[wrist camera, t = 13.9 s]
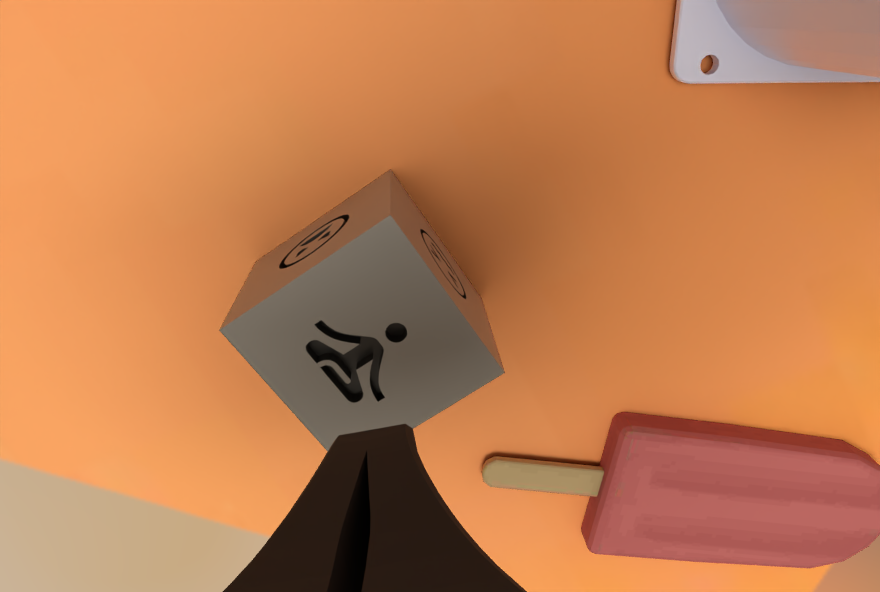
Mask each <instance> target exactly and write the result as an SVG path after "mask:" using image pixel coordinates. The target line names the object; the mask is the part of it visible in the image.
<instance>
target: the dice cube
mask: <svg viewBox="0 0 880 592" xmlns="http://www.w3.org/2000/svg"><path fill="white" fill-rule="evenodd" d="M220 332H221V333H222V334H223V335H224V336H225V337H226V338H227V339H228V340H229V342H230V343H231V344H232V345H233V346H234V347H235V348H236V349H237V351H238V352H239V353H240V354H241V355H242V356H243V357H244V358H245V359H246V361H247V362H248V363H249V364H250V365H251V366H252V367H253V368H254V370H255V371H256V372H257V373H258V374H259V375H260V376H261V377H262V379H263V380H264V381H265V382H266V383H267V384H268V385H269V386H270V387H271V389H272V390H273V391H274V392H275V393H276V394H277V395H278V396H279V398H280V399H281V400H282V401H283V402H284V403H285V404H286V405H287V406H288V408H289V409H290V410H291V411H292V412H293V413H294V414H295V415H296V417H297V418H298V419H299V420H300V421H301V422H302V423H303V424H304V425H305V427H306V428H307V429H308V430H309V431H310V432H311V433H312V434H313V436H314V437H315V438H316V439H317V440H318V441H319V442H320V443H321V444H322V446H323V447H324V448H325V449H326V450H327V451H328V450H329V449H330V447H331V446H332V444H333V442H334V441H335V440H336V438H337V437H338V436H339V435H343V434H349V433H355V432H360V431H366V430H372V429H378V428H383V427H389V426H395V425H400V424H407V425H408V426H410V427H411V428H415V427H416V426H418V425H420V424H421V423H423V422H425V421H426V420H428V419H430V418H431V417H433V416H434V415H436V414H438V413H439V412H441V411H443V410H444V409H446V408H448V407H449V406H451V405H453V404H454V403H456V402H457V401H459V400H461V399H462V398H464V397H466V396H467V395H469V394H471V393H472V392H474V391H475V390H477V389H479V388H480V387H482V386H484V385H485V384H487V383H489V382H490V381H492V380H494V379H495V378H497V377H498V376H500V375H502V374H503V373H505V372H504V369H503V365H502V362H501V359H500V356H499V353H498V349H497V346H496V343H495V340H494V337H493V333H492V330H491V327H490V324H489V321H488V317H487V314H486V311H485V308H484V305H483V301H482V298H481V297H480V296H479V294H478V293H477V291H476V290H475V288H474V287H473V286H472V284H471V283H470V281H469V280H468V278H467V277H466V276H465V274H464V273H463V271H462V270H461V269H460V267H459V266H458V264H457V263H456V261H455V260H454V259H453V257H452V256H451V254H450V253H449V252H448V250H447V249H446V247H445V246H444V244H443V243H442V242H441V240H440V239H439V237H438V236H437V234H436V233H435V232H434V230H433V229H432V227H431V226H430V225H429V223H428V222H427V220H426V219H425V217H424V216H423V215H422V213H421V212H420V210H419V209H418V207H417V206H416V205H415V203H414V202H413V200H412V199H411V198H410V196H409V195H408V193H407V192H406V190H405V189H404V188H403V186H402V185H401V183H400V182H399V180H398V179H397V178H396V176H395V175H394V173H393V172H392V171H391V169H390V170H389V171H387V172H386V173H384V174H383V175H381V176H380V177H378V178H377V179H376V180H374V181H373V182H371V183H370V184H368V185H367V186H365V187H364V188H362V189H361V190H360V191H358V192H357V193H355V194H354V195H352V196H351V197H349V198H348V199H346V200H345V201H343V202H342V203H341V204H339V205H338V206H336V207H335V208H333V209H332V210H330V211H329V212H327V213H326V214H325V215H323V216H322V217H320V218H319V219H317V220H316V221H314V222H313V223H311V224H310V225H308V226H307V227H306V228H304V229H303V230H301V231H300V232H298V233H297V234H295V235H294V236H292V237H291V238H290V239H288V240H287V241H285V242H284V243H282V244H281V245H279V246H278V247H276V248H275V249H273V250H272V251H271V252H269V253H268V254H266V255H265V256H263V257H262V258H260V259H259V260H257V261H256V262H255V264H254V266H253V268H252V270H251V272H250V273H249V275H248V277H247V279H246V281H245V283H244V285H243V287H242V288H241V290H240V292H239V294H238V296H237V298H236V300H235V302H234V303H233V305H232V307H231V309H230V311H229V313H228V315H227V317H226V318H225V320H224V322H223V324H222V326H221V328H220Z"/></svg>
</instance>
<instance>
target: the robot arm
mask: <svg viewBox="0 0 880 592" xmlns="http://www.w3.org/2000/svg"><path fill="white" fill-rule="evenodd" d="M707 55H710V56H711V57H712V59H713V65H712V68H711V69H710V70H709V71H708V72H707V73H703V72H702V71H701V68H700V64H701V61H702V59H703V58H704V57H705V56H707ZM670 72H671V74H672V76H673V78H675V79H676V80H677V81H679V82H684V83H689V84H697V83H811V82H880V0H677V3H676V12H675V21H674V30H673V38H672V47H671V56H670ZM223 592H527V591H525V590H524V589H523V588H522V587H521V586H520V585H519V584H518V583H516V582H515V581H514V580H513V579H512V578H511V577H510V576H509V575H507V574H506V573H505V572H504V571H503V570H502V569H501V568H500V567H499V566H497V565H496V564H495V563H494V562H493V560H492V559H491V558H490V557H489V556H488V555H487V554H486V553H485V552H484V551H483V550H482V549H481V548H480V547H479V546H478V544H477V543H476V542H475V541H474V540H473V539H472V538H471V536H470V535H469V534H468V533H467V532H466V530H465V529H464V528H463V527H462V525H461V524H460V523H459V521H458V520H457V519H456V517H455V516H454V515H453V513H452V512H451V510H450V509H449V508H448V506H447V505H446V503H445V502H444V500H443V499H442V497H441V496H440V494H439V493H438V491H437V489H436V487H435V486H434V484H433V482H432V480H431V479H430V477H429V475H428V473H427V472H426V470H425V468H424V466H423V464H422V461H421V459H420V457H419V454H418V452H417V447H416V442H415V437H414V433H413V428H411V427H410V426H408V425H407V424H400V425H395V426H389V427H383V428H378V429H372V430H366V431H360V432H355V433H349V434H343V435H339V436H338V437H337V438H336V440H335V441H334V442H333V444H332V446H331V447H330V449H329V450H328V452H327V454H326V456H325V457H324V459H323V461H322V462H321V464H320V465H319V467H318V469H317V470H316V472H315V474H314V475H313V477H312V478H311V480H310V482H309V483H308V485H307V486H306V488H305V489H304V491H303V492H302V494H301V495H300V497H299V498H298V500H297V501H296V503H295V504H294V506H293V507H292V509H291V510H290V512H289V513H288V514H287V516H286V517H285V519H284V520H283V521H282V523H281V524H280V525H279V527H278V528H277V529H276V531H275V532H274V533H273V535H272V536H271V537H270V539H269V540H268V541H267V543H266V544H265V545H264V546H263V548H262V549H261V550H260V551H259V553H258V554H257V555H256V556H255V558H254V559H253V560H252V561H251V562H250V563H249V564H248V566H247V567H246V568H245V569H244V570H243V571H242V572H241V573H240V574H239V575H238V576H237V577H236V578H235V580H234V581H233V582H232V583H231V584H230V585H229V586H228V587H227V588H226V589H225V590H224V591H223Z"/></svg>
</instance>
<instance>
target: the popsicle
mask: <svg viewBox="0 0 880 592" xmlns="http://www.w3.org/2000/svg"><path fill="white" fill-rule="evenodd" d="M482 476H483V482H485V483H486V484H487V485H488V486H490V487H497V488H508V489H518V490H529V491H540V492H550V493H561V494H572V495H582V496H590V499H589V502H588V506H587V509H586V513H585V516H584V520H583V523H582V527H581V529H582V534H583V536H584V539H585V542H586V545H587V547H588V549H589V550H590V551H591V552H592V553H595V554H604V555H616V556H629V557H642V558H655V559H667V560H680V561H693V562H709V563H727V564H744V565H762V566H779V567H796V568H814V567H818V566H823V565H828V564H833V563H837V562H842V561H845V560H846V559H848V558H850V557H851V556H853V555H855V554H856V553H858V552H860V551H862V550H863V549H865V548H867V547H868V546H869V545H870V544H871V543H872V542H873V541H874V540H875V539H876V538H877V537H878V536H879V535H880V465H878V464H877V463H876V462H875V461H874V460H873V459H872V458H871V457H870V456H869V455H868V454H866V453H865V452H863V451H861V450H859V449H857V448H856V447H854V446H852V445H850V444H848V443H846V442H845V441H843V440H839V439H832V438H824V437H817V436H810V435H803V434H796V433H789V432H782V431H774V430H767V429H760V428H753V427H746V426H739V425H731V424H724V423H715V422H706V421H698V420H689V419H680V418H672V417H663V416H655V415H646V414H637V413H629V412H621V413H617V414H616V415H615V417H614V418H613V419H612V423H611V426H610V430H609V433H608V437H607V440H606V444H605V447H604V450H603V454H602V457H601V461H600V464H599V466H590V465H580V464H570V463H560V462H550V461H539V460H529V459H519V458H509V457H499V456H494V457H492V458H490V459H488V460H486V462H485V463H484V465H483V468H482Z"/></svg>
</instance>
